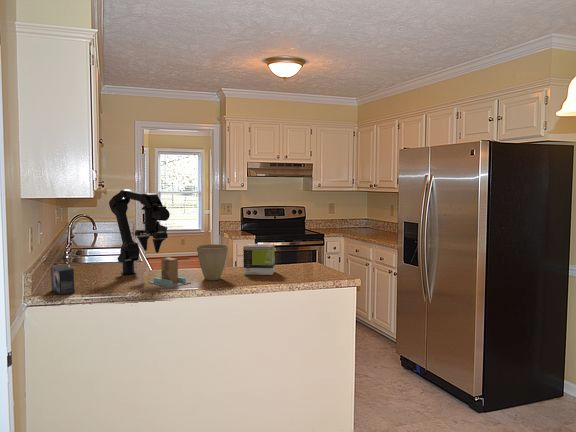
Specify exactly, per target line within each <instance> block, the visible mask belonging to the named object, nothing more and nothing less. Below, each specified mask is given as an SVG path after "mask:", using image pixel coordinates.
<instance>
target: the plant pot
mask: <svg viewBox="0 0 576 432" xmlns="http://www.w3.org/2000/svg"><path fill="white" fill-rule="evenodd" d="M228 248H229V246H228V245H227V244H219V243H217V244H215V243H214V244H210V243H209V244H202V245H201V244H200V245H196V251H197V257H198V262H199V266H200V269H201V272H202V275H203V278H204V280H207V281H217V280H220V279H221V277H222V274H223V271H224V269H225V265H226V261H227V257H228Z"/></svg>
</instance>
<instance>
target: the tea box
mask: <svg viewBox="0 0 576 432" xmlns="http://www.w3.org/2000/svg"><path fill="white" fill-rule="evenodd" d="M242 247H243V248H242V251H243V258H242V259H243V260H242V261H243V275H256V276H257V275H261V276H262V275H263V276H267V275H268V276H272V275H274V273H275V272H274V271H275V269H276V268H275V267H276V263H275V262H276V259H275V257H276V256H275V252H276V251H275V249H276V248H275V247H276V246H275V244H273V243H246V244H245V245H243V246H242Z"/></svg>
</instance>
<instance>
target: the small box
mask: <svg viewBox="0 0 576 432" xmlns="http://www.w3.org/2000/svg"><path fill="white" fill-rule="evenodd" d="M74 270H75V268H73V267H70V266H67V265H66V264H65V265H58V266H57V265H56V266H50V279H51V280H50V281H51V282H50V283H51V291H52V292H54V293H56V294H58V295H59V296H63V295H68V294H75V292H76V291H75V271H74Z"/></svg>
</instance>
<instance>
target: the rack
mask: <svg viewBox="0 0 576 432" xmlns="http://www.w3.org/2000/svg"><path fill="white" fill-rule="evenodd" d="M147 283H148V284H153V285H156V286H157V285H158V286H161V287H165V288H169V289H173V288H177V287H181V286H186V285H188V284H192V282H191V281H187V279H186V278H185V277H182V276H178V283H173V281H171V280H167V279H162V278H161V277H153V280H150V281H147Z"/></svg>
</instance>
